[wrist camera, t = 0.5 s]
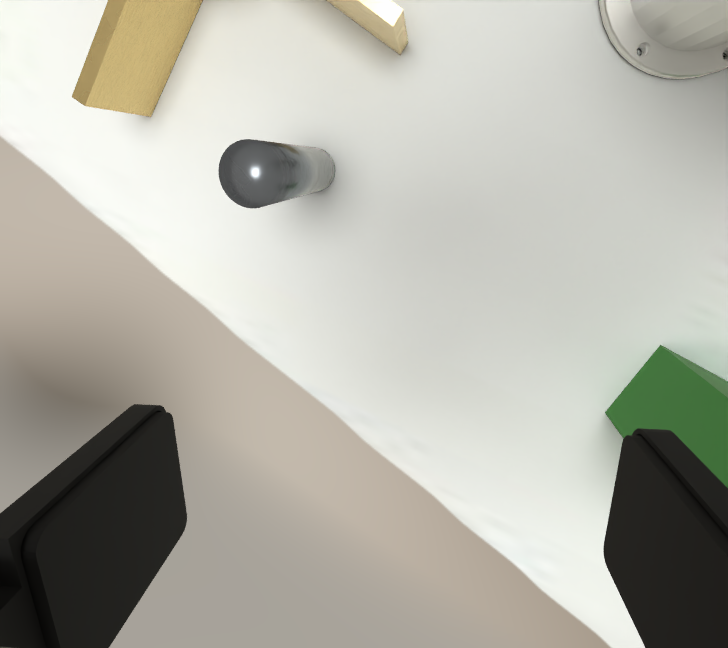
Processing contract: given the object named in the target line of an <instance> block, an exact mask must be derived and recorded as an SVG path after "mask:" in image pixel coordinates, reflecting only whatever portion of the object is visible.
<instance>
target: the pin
mask: <svg viewBox="0 0 728 648" xmlns="http://www.w3.org/2000/svg"><path fill="white" fill-rule="evenodd" d="M334 175H335V165H334V162H333V160H332V158H331V157H330V155H329V154H328V153H327V152H326V151H324V150H322V149H319V148H313V147H306V146H298V145H290V144H282V143H274V142H267V141H259V140H251V139H245V140H240V141H237V142H235V143H233V144H232V145H230V146H229V147H228V148H227V149H226V150H225V152H224V153H223V155H222V157H221V160H220V163H219V179H220V182H221V185H222V188H223V190H224V191H225V193H226V194H227V195H228V197H229V198H230V199H231V200H233V201H234V202H235V203H237V204H238V205H241V206H243V207H246V208H260V207H263V206H267V205H271V204H274V203H278V202H282V201H285V200H289V199H293V198H296V197H300V196H304V195H307V194H311V193H315V192H318V191H322V190H324V189H326V188H327V187H328V186H329V185H330V184H331V183H332V181H333V179H334Z"/></svg>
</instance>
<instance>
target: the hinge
mask: <svg viewBox="0 0 728 648" xmlns="http://www.w3.org/2000/svg"><path fill="white" fill-rule="evenodd" d="M202 1H203V0H108V2H107V5H106V8H105V10H104V13H103V16H102V18H101V21H100V24H99V26H98V29H97V32H96V34H95V37H94V39H93V42H92V45H91V47H90V50H89V53H88V55H87V58H86V61H85V63H84V66H83V68H82V71H81V74H80V76H79V79H78V82H77V84H76V87H75V90H74V92H73V95H72V97H73V98H74V99H76V100H77V101H79V102H80V103H81V104H83V105H84V106H88V107H94V108H101V109H107V110H113V111H119V112H125V113H131V114H137V115H143V116H149V117H151V115H152V113H153V111H154V109H155V106H156V104H157V102H158V100H159V97H160V95H161V93H162V91H163V88H164V86H165V84H166V82H167V79H168V77H169V75H170V73H171V70H172V68H173V66H174V64H175V61H176V59H177V57H178V55H179V52H180V50H181V48H182V46H183V43H184V41H185V39H186V37H187V34H188V32H189V30H190V28H191V25H192V23H193V21H194V19H195V17H196V14H197V12H198V10H199V8H200V5H201V3H202ZM327 1H328V2H329V3H331V4H332V5H333V6H335V7H336V8H337V9H339V10H340V11H341V12H343V13H344V14H345V15H347V16H348V17H350V18H351V19H352V20H354V21H355V22H356V23H358V24H359V25H360V26H362V27H363V28H364V29H366V30H367V31H368V32H370V33H371V34H372V35H374V36H375V37H376V38H378V39H379V40H381V41H382V42H383V43H385V44H386V45H387V46H389V47H390V48H391V49H393V50H394V51H395V52H397V53H398V54H399V55H401V53H402V51H403V50H404V48H405V47H406V45H407V43H408V38H407V32H406V25H405V19H404V12H403V9H402V8H400V7H399V6H398V5H396V4H395V3H394V2H392V1H391V0H327Z"/></svg>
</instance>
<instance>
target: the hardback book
mask: <svg viewBox="0 0 728 648" xmlns="http://www.w3.org/2000/svg"><path fill="white" fill-rule="evenodd" d="M605 413H606V415H607V416H608V417H609V419H610V420H611V422H612V423H613V424H614V426H615V427H616V429H617V430H618V431H619V433H620V434H621V436H622V437H623V438H624V437H625V436H627V435H632V434H633V432H634V431H635V430H636V429H637V428H643V429H664V430H671V431H672V432H673V433H674V434H675V435H676V436H677V437H678V438H679V439H680V440H681V441H682V442H683V443H684V444H685V445H686V446H687V447H688V448H689V449H690V450H691V451H692V452H693V453H694V454H695V455H696V456H697V457H698V458H699V459H700V460H701V461H702V462H703V463H704V464H705V465H706V466H707V467H708V468H709V470H710V471H711V472H712V473H713V474H714V475H715V476H716V477H717V478H718V479H719V480H720V481H721V482H722V483H723V484H724V485H725V486H726V487H727V488H728V381H726V380H724V379H722V378H720V377H718V376H716V375H715V374H713V373H711V372H709V371H707V370H705V369H704V368H702V367H700V366H698V365H696V364H694V363H693V362H691V361H689V360H687V359H685V358H683V357H682V356H680V355H678V354H676V353H674V352H672V351H670V350H669V349H667V348H665V347H663V346H661V345H660V346H659V348H658V349H657V350H656V351H655V352H654V354H653V355H652V356H651V357H650V358H649V360H648V361H647V362H646V363H645V365H644V366H643V367H642V368H641V369H640V371H639V372H638V373H637V374H636V376H635V377H634V378H633V379H632V380H631V382H630V383H629V384H628V385H627V387H626V388H625V389H624V390H623V391H622V393H621V394H620V395H619V396H618V398H617V399H616V400H615V401H614V402H613V404H612V405H611V406H610V407H609V409H608V410H607V411H606V412H605Z"/></svg>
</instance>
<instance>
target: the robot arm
mask: <svg viewBox="0 0 728 648" xmlns="http://www.w3.org/2000/svg"><path fill="white" fill-rule="evenodd" d="M599 6H600V11H601V16H602V21H603V25H604V27H605V29H606V32H607V34H608V36H609V39H610V41H611V42H612V44H613V45H614V46H615V48H616V49H617V51H618V52H619V53H620V55H621V56H623V57H624V58H625V59H626V60H627V61H628V62H629V63H631V64H632V65H633V66H634V67H636V68H638V69H640V70H642V71H644V72H646V73H648V74H651V75H655V76H658V77H662V78H671V79H687V78H694V77H701V76H704V75H707V74H711V73H714V72H718V71H720V70H723V69H725V68H728V0H599ZM638 48H639V49H641V50H642V53H641V55H640V56H639V55H638V54H637V49H638ZM723 53H725V54H726V56H725V59H724V58H723ZM186 522H187V513H186V506H185V499H184V492H183V485H182V478H181V471H180V464H179V457H178V450H177V443H176V436H175V429H174V422H173V417H172V415H171V414H170V413H168V412H166V411H165V409H164V407H162V406H160V405H138V404H137V405H136V404H134V405H133V406H131V407H129V408H128V409H127V410H126V411H125V412H123V413H122V414H121V415H120V416H119V417H117V418H116V419H115V420H114V421H112V422H111V423H110V424H109V425H108V426H106V427H105V428H104V429H103V430H101V431H100V432H99V433H98V434H97V435H95V436H94V437H93V438H92V439H90V440H89V441H88V442H87V443H86V444H84V445H83V446H82V447H81V448H80V449H78V450H77V451H76V452H75V453H73V454H72V455H71V456H70V457H69V458H67V459H66V460H65V461H64V462H62V463H61V464H60V465H59V466H58V467H56V468H55V469H54V470H53V471H52V472H50V473H49V474H48V475H47V476H45V477H44V478H43V479H42V480H41V481H39V482H38V483H37V484H36V485H34V486H33V487H32V488H31V489H30V490H28V491H27V492H26V493H25V494H24V495H22V496H21V497H20V498H19V499H17V500H16V501H15V502H14V503H12V504H11V505H10V506H9V507H8V508H6V509H5V510H4V511H3V512H2V513H0V648H109V646H110V645H111V643H112V642H113V640H114V639H115V637H116V636H117V634H118V633H119V631H120V630H121V628H122V626H123V625H124V623H125V622H126V620H127V619H128V617H129V616H130V614H131V613H132V611H133V609H134V608H135V606H136V605H137V603H138V602H139V600H140V599H141V597H142V596H143V594H144V593H145V591H146V589H147V588H148V586H149V585H150V583H151V582H152V580H153V579H154V577H155V576H156V574H157V572H158V571H159V569H160V568H161V566H162V565H163V563H164V562H165V560H166V559H167V557H168V556H169V554H170V552H171V551H172V549H173V548H174V546H175V545H176V543H177V542H178V540H179V539H180V537H181V535H182V534H183V532H184V530H185V526H186ZM604 558H605V562H606V565H607V568H608V570H609V572H610V574H611V576H612V578H613V580H614V583H615V585H616V587H617V589H618V591H619V593H620V595H621V597H622V599H623V601H624V604H625V606H626V608H627V610H628V612H629V614H630V616H631V618H632V620H633V622H634V625H635V627H636V629H637V631H638V633H639V635H640V637H641V639H642V641H643V643H644V646H645V648H728V488H727V487H726V486H725V485H724V484H723V483H722V482H721V481H720V480H719V479H718V478H717V477H716V476H715V475H714V474H713V473H712V472H711V471H710V470H709V468H708V467H707V466H706V465H705V464H704V463H703V462H702V461H701V460H700V459H699V458H698V457H697V456H696V455H695V454H694V453H693V452H692V451H691V450H690V449H689V448H688V447H687V446H686V445H685V444H684V443H683V442H682V441H681V440H680V439H679V438H678V437H677V436H676V435H675V434H674V433H673V432H672V431H671V430H664V429H643V428H637V429H636V430H635V431H634V432H633V434H632V435H627V436H625V437H624V439H623V443H622V448H621V454H620V459H619V465H618V470H617V475H616V481H615V486H614V492H613V497H612V503H611V508H610V514H609V519H608V525H607V530H606V536H605V541H604Z"/></svg>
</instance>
